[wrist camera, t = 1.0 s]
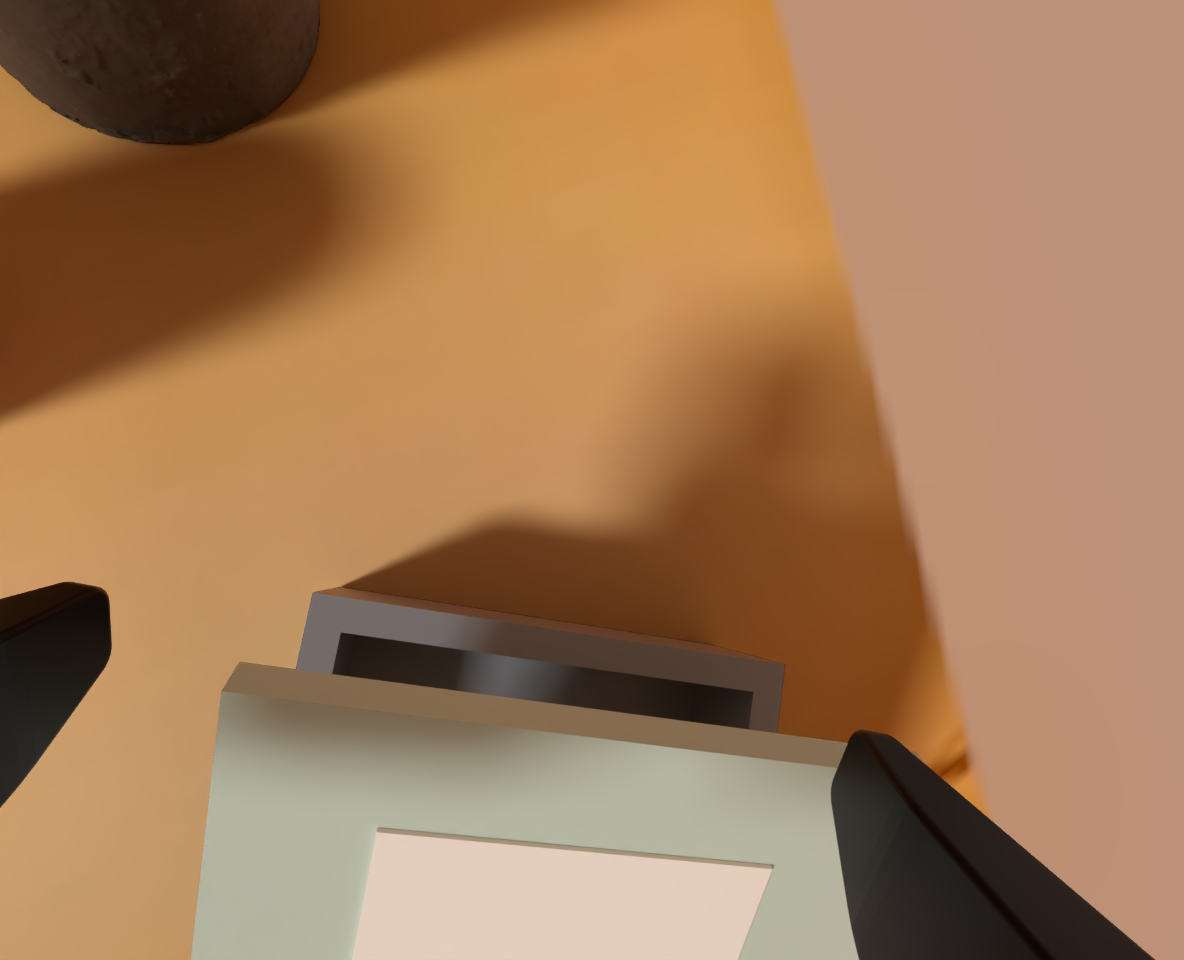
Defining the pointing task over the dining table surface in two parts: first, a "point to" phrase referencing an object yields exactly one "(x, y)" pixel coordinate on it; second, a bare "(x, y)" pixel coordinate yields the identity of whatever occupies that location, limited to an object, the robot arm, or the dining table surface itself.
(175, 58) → the pillar candle
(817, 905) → the lid
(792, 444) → the dining table surface
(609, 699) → the storage box
